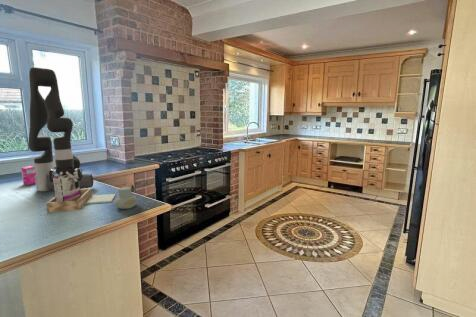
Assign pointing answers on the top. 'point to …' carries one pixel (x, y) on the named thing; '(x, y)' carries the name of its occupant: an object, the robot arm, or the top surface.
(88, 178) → the bluetooth speaker
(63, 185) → the candy bar box
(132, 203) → the air freshener
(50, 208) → the oak bin
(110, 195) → the plate
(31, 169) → the supplement box
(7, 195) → the top surface
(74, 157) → the squash
